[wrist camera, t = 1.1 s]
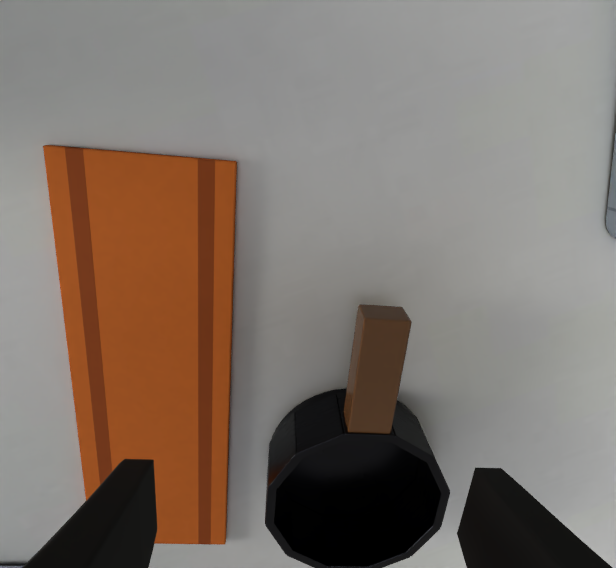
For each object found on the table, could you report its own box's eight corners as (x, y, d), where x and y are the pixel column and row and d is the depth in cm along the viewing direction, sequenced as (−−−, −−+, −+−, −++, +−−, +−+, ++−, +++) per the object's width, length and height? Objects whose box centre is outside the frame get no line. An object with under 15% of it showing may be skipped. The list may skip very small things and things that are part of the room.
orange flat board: (226, 538, 23) (225, 544, 23) (94, 535, 23) (90, 543, 22) (237, 161, 16) (236, 162, 16) (48, 144, 16) (42, 145, 15)
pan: (410, 514, 23) (429, 573, 20) (264, 511, 23) (261, 571, 20) (459, 294, 19) (494, 327, 16) (280, 283, 18) (279, 314, 15)
